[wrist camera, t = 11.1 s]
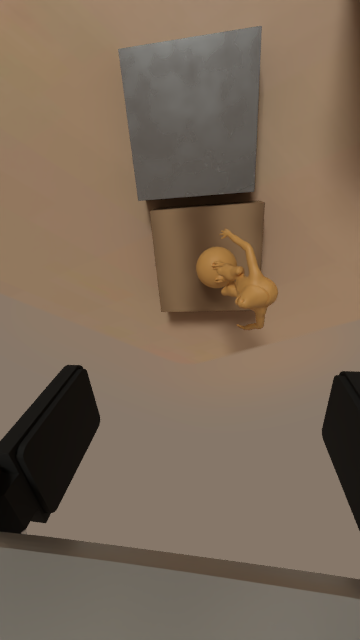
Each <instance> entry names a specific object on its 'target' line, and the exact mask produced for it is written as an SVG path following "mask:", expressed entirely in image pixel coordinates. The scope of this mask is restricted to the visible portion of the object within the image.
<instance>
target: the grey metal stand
mask: <svg viewBox="0 0 360 640" xmlns="http://www.w3.org/2000/svg"><path fill="white" fill-rule="evenodd" d="M261 30H262V26H257V27H251V28H245V29H239V30H232V31H226V32H220V33H214V34H208V35H202V36H195V37H189V38H183V39H177V40H171V41H165V42H159V43H152V44H146V45H140V46H134V47H128V48H122V49H118V51H119V59H120V66H121V74H122V81H123V89H124V96H125V104H126V112H127V119H128V127H129V134H130V142H131V149H132V157H133V164H134V172H135V180H136V187H137V195H138V201H141V200H154V199H167V198H179V197H192V196H205V195H218V194H230V193H243V192H254V187H255V165H256V142H257V120H258V97H259V75H260V53H261Z"/></svg>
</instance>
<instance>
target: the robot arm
mask: <svg viewBox="0 0 360 640" xmlns="http://www.w3.org/2000/svg"><path fill="white" fill-rule="evenodd" d="M99 423H100V415H99V412H98V408H97V405H96V401H95V398H94V394H93V391H92V387H91V384H90V381H89V377H88V373H87V371H86V369H83V367H82V366H80V365H67V366H65V367H64V368H63V369H62V370H61V371H60V373H58V375H57V376H56V377H55V378H54V379H53V380H52V382H51V383H50V384H49V385H48V386H47V387H46V389H45V390H44V391H43V392H42V393H41V394H40V396H39V397H38V398H37V399H36V400H35V401H34V403H33V404H32V405H31V406H30V407H29V409H28V410H27V411H26V412H25V413H24V414H23V415H22V417H21V418H20V419H19V420H18V421H17V422H16V424H15V425H14V426H13V427H12V428H11V429H10V431H9V432H8V433H7V434H6V435H5V436H4V438H3V439H2V440H1V441H0V640H360V579H353V578H347V577H341V576H334V575H327V574H321V573H314V572H307V571H300V570H292V569H285V568H278V567H271V566H264V565H256V564H249V563H242V562H235V561H228V560H220V559H213V558H206V557H198V556H190V555H184V554H176V553H169V552H161V551H153V550H146V549H138V548H131V547H123V546H116V545H108V544H100V543H91V542H84V541H76V540H69V539H61V538H53V537H45V536H36V535H27V533H26V528H27V526H28V524H29V522H30V521H33V522H41V523H46V522H47V520H48V518H49V516H50V514H51V513H53V512H55V511H56V509H57V508H58V506H59V504H60V502H61V500H62V498H63V496H64V494H65V492H66V490H67V488H68V486H69V484H70V482H71V480H72V478H73V476H74V474H75V472H76V470H77V468H78V466H79V464H80V462H81V460H82V458H83V456H84V454H85V452H86V451H87V449H88V446H89V445H90V443H91V441H92V439H93V437H94V435H95V433H96V431H97V429H98V427H99ZM322 436H323V440H324V443H325V445H326V448H327V450H328V453H329V455H330V458H331V460H332V463H333V465H334V468H335V470H336V473H337V475H338V478H339V480H340V483H341V485H342V488H343V490H344V492H345V495H346V498H347V500H348V503H349V505H350V508H351V510H352V513H353V515H354V518H355V520H356V523H357V525H358V528H359V530H360V372H348V371H346V372H345V371H343V372H341V373H340V374H339V375H336V376H335V377H334V380H333V384H332V389H331V393H330V397H329V401H328V406H327V410H326V415H325V419H324V423H323V428H322Z"/></svg>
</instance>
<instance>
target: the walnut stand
mask: <svg viewBox="0 0 360 640" xmlns="http://www.w3.org/2000/svg"><path fill="white" fill-rule="evenodd" d="M264 208H265V203H264V202H262V201H252V202H239V203H225V204H212V205H198V206H184V207H171V208H157V209H153V210H151V211H150V219H151V227H152V236H153V245H154V253H155V262H156V270H157V279H158V287H159V296H160V304H161V312H187V311H242V310H251V309H242V308H240V307H239V306H238V305H236V303H235V300H236V297H231V296H224V295H222V294H221V290H222V289H223V288H224V287H225V286H224V287H222V288H211V287H208V286H206V285H204V284H203V283H202V282H201V281H200V279H199V278H198V275H197V272H196V264H197V260H198V258H199V257H200V255H201V254H202V253H203V252H204V251H205V250H207V249H209V248H212V247H223V248H226V249H227V250H229V251H230V252H231V253H232V254H233V255H234V257H235V259H236V261H237V266H242V267H243V268H244V271H245V274H244V275H245V276H246V277H247V276H249V269H248V265H247V260H246V253H245V251H244V250H243V249H242V248H241V247H240V246H239V245H237V244H235V243H234V242H233V241H232V240H231V239H230V238H229V237H228V236H227V237H225V238H223V239H221V238H222V237H223V236H224V235H219V234H221V233H223V232H221V231H222V230H223V231H225V230H224V229H228V230H229V231H231V233H233V234H234V235H236V236H238V237H239V238H241V239H242V240H244V241H246V242H248V243H249V244H250V245H251V246H252V248H253V250H254V253H255V257H256V260H257V264H258V267H259V269H260V271H261V257H262V240H263V224H264ZM235 282H236V280H235Z"/></svg>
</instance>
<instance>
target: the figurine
mask: <svg viewBox="0 0 360 640" xmlns="http://www.w3.org/2000/svg"><path fill="white" fill-rule="evenodd" d="M224 230H225V231H223V230H222V231H221V232H223V233H221V234H219V235H224V236H223V237H222V238H221V239H223V238H225V237H227V236H228V237H229V238H230V239H231V240H232V241H233V242H234V243H235V244H237V245H239V246H240V247H241V248H242V249H243V250H244V251H245V253H246V260H247V265H248V269H249V276H247V277H246V276H245V275H244V274H245V271H244V268H243V267H242V266H237V261H236V259H235V257H234V255H233V254H232V253H231V252H230V251H229V250H227V249H226V248H223V247H212V248H209V249H207V250H205V251H204V252H203V253H202V254H201V255H200V257H199V258H198V260H197V264H196V272H197V275H198V278H199V279H200V281H201V282H202V283H203V284H204V285H206V286H208V287H211V288H222V287H224V286H225V287H224V288H223V289H222V290H221V294H222V295H224V296H231V297H236V300H235V303H236V305H238V306H239V307H240V308H242V309H251V310H253V311H254V312H255V314H256V323H254V324H248V325H246V326H241V325H237V326H238V327H240V328H242V329H244V330H252V329H261V328H263V326H264V319H265V313H266V310H267V307H268V306H269V305H271V304H272V303H274V301H275V300H276V298H277V295H278V290H277V287H276V285H275V284H274V282H273V281H271V280H270V279H268V278H266V277H264V276H263V275H262V273H261V271H260V269H259V267H258V264H257V260H256V257H255V253H254V250H253V248H252V246H251V245H250V244H249V243H248V242H246V241H244V240H242V239H241V238H239V237H238V236H236V235H234V234H233V233H231V231H229V230H228V229H224ZM235 280H236V282H235Z"/></svg>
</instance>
